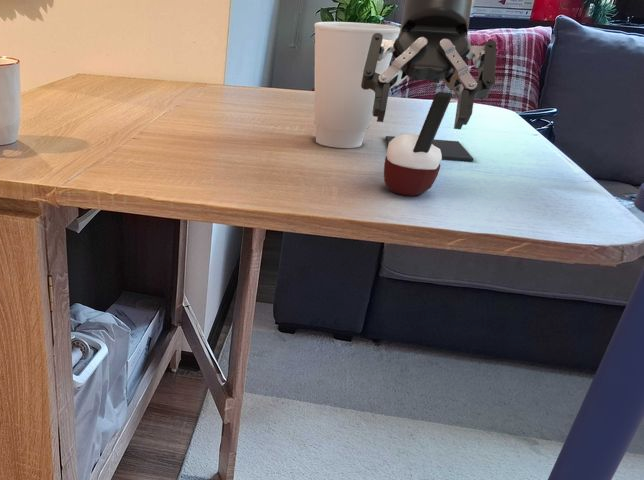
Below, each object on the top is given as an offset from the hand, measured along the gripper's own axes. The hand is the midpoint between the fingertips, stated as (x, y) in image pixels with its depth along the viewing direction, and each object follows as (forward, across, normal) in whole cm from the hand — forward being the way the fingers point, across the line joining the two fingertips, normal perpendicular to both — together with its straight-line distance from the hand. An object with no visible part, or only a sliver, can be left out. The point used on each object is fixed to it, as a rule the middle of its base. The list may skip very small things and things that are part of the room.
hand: (419, 121), depth 71 cm
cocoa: (+6, 0, +5) cm, 8 cm away
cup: (-10, -9, +22) cm, 26 cm away
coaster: (-11, +4, +22) cm, 25 cm away
